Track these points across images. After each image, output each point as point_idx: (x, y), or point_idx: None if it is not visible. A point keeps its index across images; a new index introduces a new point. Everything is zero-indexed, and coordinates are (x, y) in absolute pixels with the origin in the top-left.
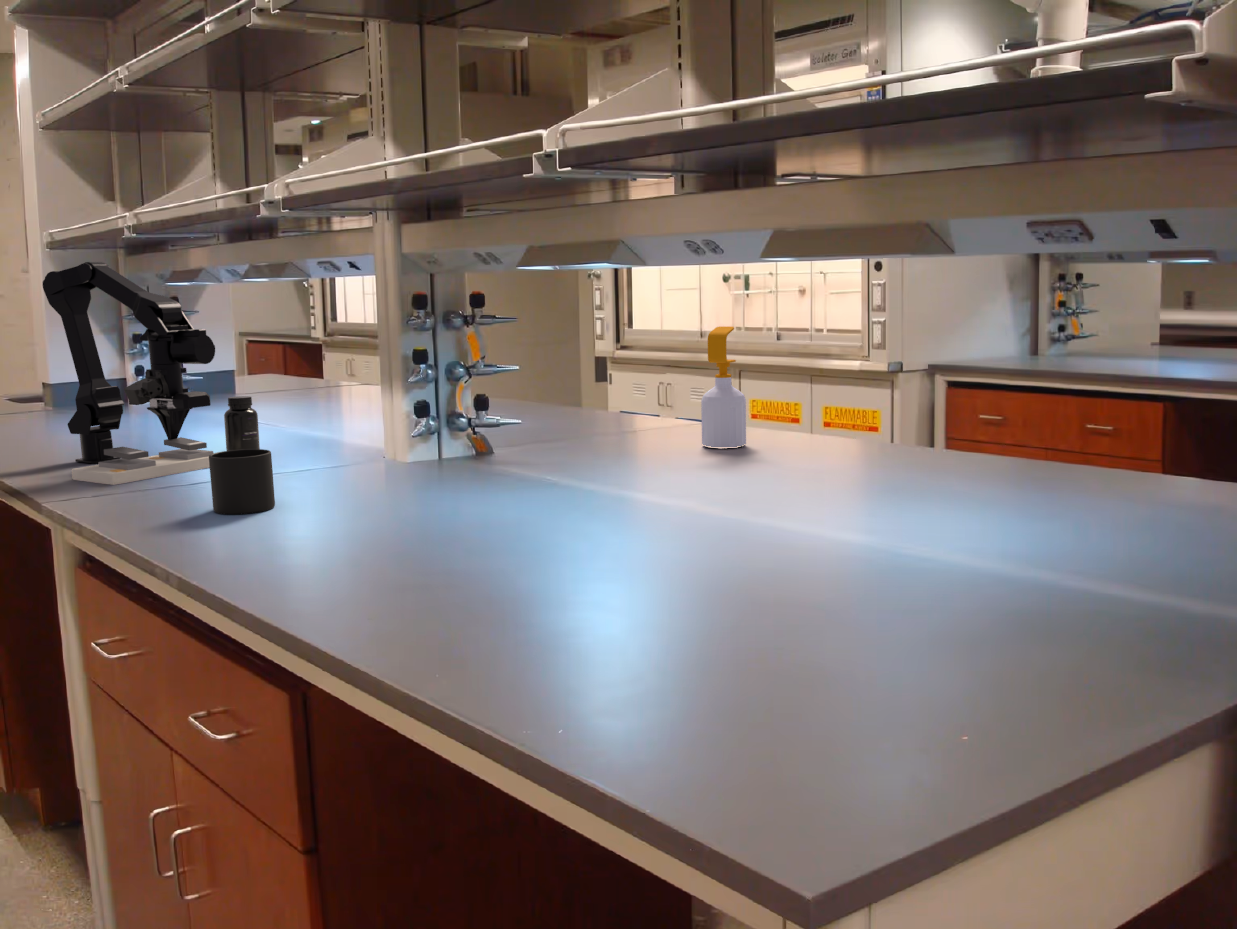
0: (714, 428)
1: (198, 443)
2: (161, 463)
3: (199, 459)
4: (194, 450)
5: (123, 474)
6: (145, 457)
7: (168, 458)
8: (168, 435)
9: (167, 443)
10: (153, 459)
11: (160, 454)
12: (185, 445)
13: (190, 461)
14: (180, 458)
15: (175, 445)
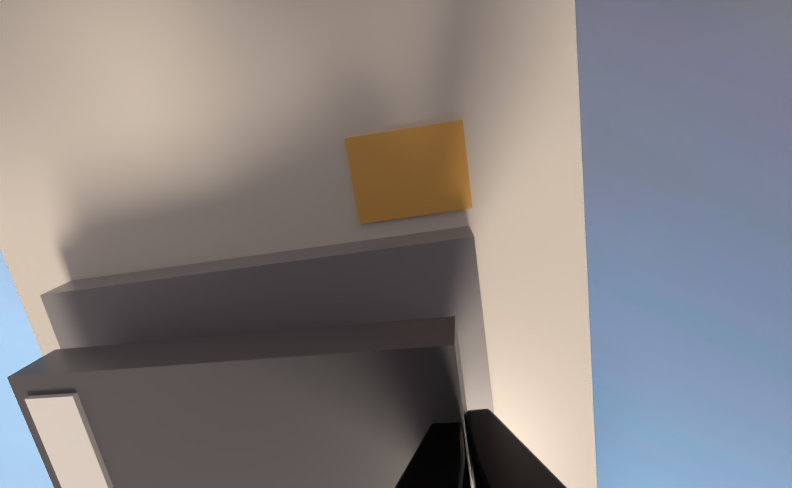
0: None
1: (61, 485)
2: (36, 34)
3: (44, 347)
4: None
5: None
6: (554, 128)
7: (291, 226)
8: (474, 445)
9: (386, 333)
10: (353, 112)
11: (443, 234)
12: (70, 368)
13: (15, 267)
14: (165, 269)
15: (247, 343)
